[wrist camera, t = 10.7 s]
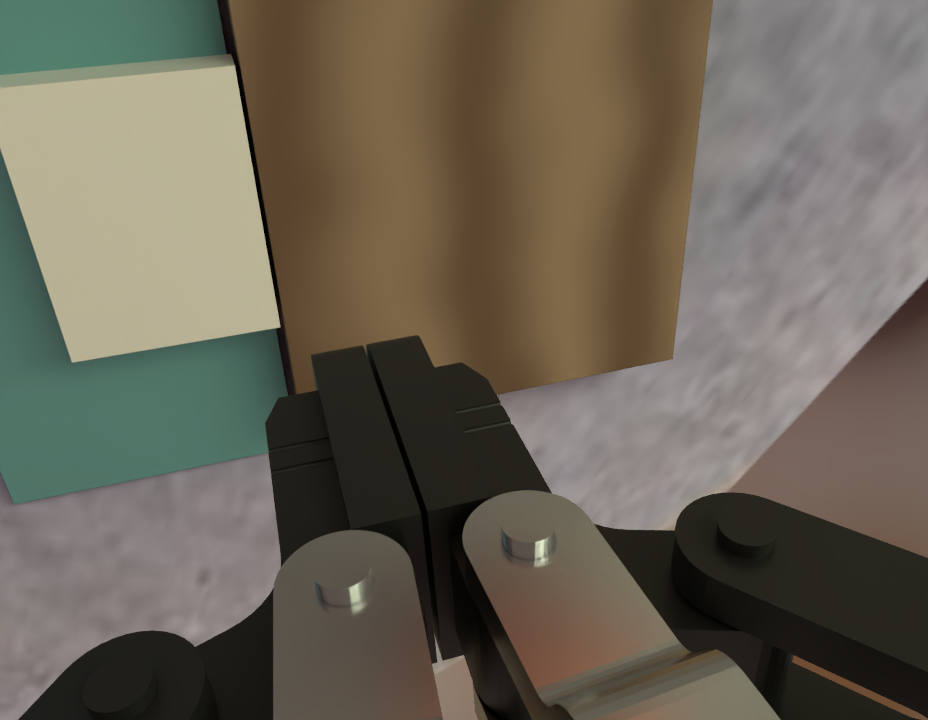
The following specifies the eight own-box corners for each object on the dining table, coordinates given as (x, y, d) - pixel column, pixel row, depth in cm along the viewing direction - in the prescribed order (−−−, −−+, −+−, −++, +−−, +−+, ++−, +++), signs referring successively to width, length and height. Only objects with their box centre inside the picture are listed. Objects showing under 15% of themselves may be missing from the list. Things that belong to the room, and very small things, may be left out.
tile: (231, 53, 26) (234, 65, 24) (274, 303, 31) (280, 327, 29) (-7, 75, 25) (-20, 89, 23) (77, 335, 29) (72, 362, 28)
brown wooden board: (686, -123, 28) (726, -123, 26) (645, 332, 37) (672, 359, 35) (209, -99, 24) (212, -97, 22) (296, 399, 34) (303, 433, 32)
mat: (199, -98, 24) (199, -98, 24) (295, 439, 35) (296, 446, 34) (-225, -77, 22) (-232, -76, 21) (16, 496, 32) (14, 504, 32)
